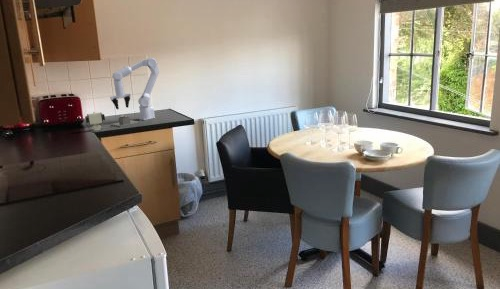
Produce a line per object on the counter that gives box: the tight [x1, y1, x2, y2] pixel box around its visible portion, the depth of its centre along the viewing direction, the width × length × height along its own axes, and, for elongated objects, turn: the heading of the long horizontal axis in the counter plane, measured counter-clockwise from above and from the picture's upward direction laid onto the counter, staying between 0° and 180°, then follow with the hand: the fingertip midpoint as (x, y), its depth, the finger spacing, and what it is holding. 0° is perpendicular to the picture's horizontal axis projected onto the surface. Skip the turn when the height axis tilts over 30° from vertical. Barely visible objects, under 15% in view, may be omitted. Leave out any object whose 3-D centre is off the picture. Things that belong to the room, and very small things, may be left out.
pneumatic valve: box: [84, 111, 106, 132], centre depth 267 cm, size 6×12×12 cm, turn 116°
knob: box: [118, 114, 131, 124], centre depth 279 cm, size 5×5×5 cm
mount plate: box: [111, 119, 140, 128], centre depth 281 cm, size 14×12×4 cm
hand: (122, 108), depth 287 cm, fingers open, 7 cm apart
